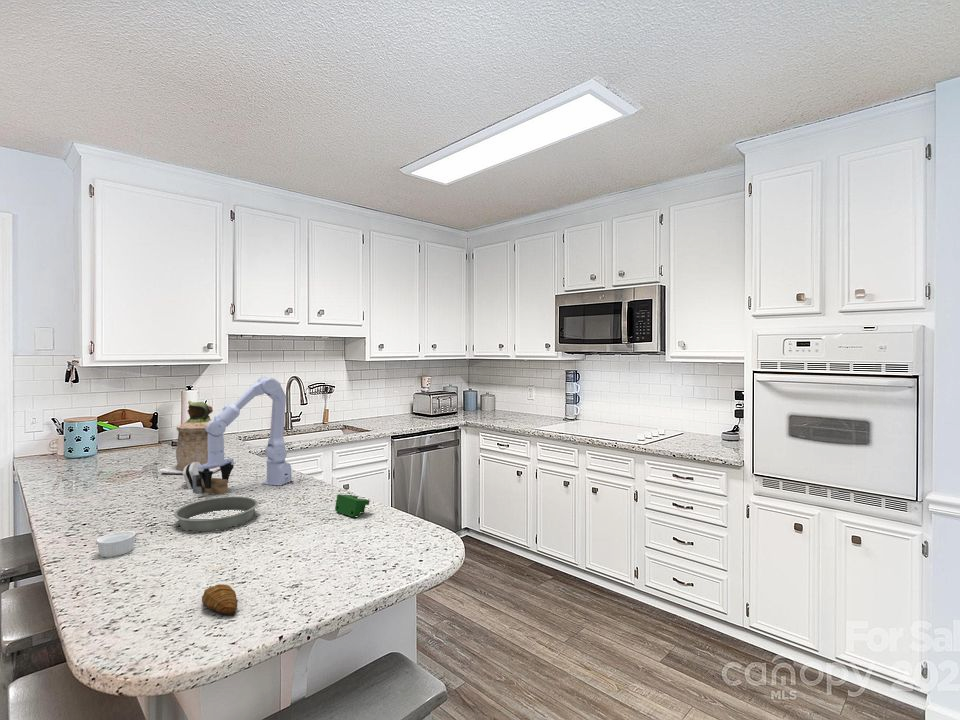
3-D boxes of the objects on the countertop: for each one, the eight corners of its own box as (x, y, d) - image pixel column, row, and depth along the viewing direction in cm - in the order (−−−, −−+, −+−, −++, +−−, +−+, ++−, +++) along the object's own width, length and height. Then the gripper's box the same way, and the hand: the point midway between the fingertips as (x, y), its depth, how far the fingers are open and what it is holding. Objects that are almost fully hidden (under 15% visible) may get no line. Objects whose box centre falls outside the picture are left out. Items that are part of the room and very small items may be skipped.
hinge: (202, 488, 211) (192, 465, 210) (190, 493, 210) (180, 470, 209) (210, 478, 227) (201, 457, 226) (199, 482, 226) (189, 461, 225)
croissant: (191, 602, 116) (190, 580, 116) (222, 591, 121) (222, 570, 121) (215, 624, 107) (214, 599, 107) (248, 611, 112) (248, 588, 112)
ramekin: (106, 560, 140) (105, 544, 140) (91, 554, 144) (90, 538, 144) (142, 549, 147) (141, 534, 147) (126, 543, 152) (126, 528, 152)
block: (227, 492, 205) (227, 479, 205) (219, 494, 201) (219, 481, 201) (209, 489, 209) (209, 476, 209) (201, 492, 206) (201, 479, 205)
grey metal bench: (217, 489, 209) (217, 472, 209) (201, 493, 203) (201, 476, 203) (208, 487, 211) (208, 471, 211) (192, 492, 205) (192, 475, 205)
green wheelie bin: (362, 527, 177) (374, 503, 176) (348, 527, 172) (359, 503, 171) (346, 506, 185) (357, 484, 184) (332, 506, 180) (342, 483, 179)
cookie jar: (211, 475, 233) (209, 403, 232) (156, 475, 234) (154, 403, 233) (237, 462, 258) (236, 397, 257) (188, 463, 258) (186, 398, 257)
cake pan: (155, 528, 165) (155, 514, 165) (219, 506, 188) (219, 493, 188) (215, 538, 156) (215, 523, 156) (274, 513, 179) (274, 500, 179)
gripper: (224, 447, 212) (225, 480, 213) (191, 453, 199) (192, 489, 200) (237, 448, 210) (237, 482, 210) (204, 455, 196) (205, 491, 197)
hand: (216, 485), depth 205 cm, fingers open, 7 cm apart
